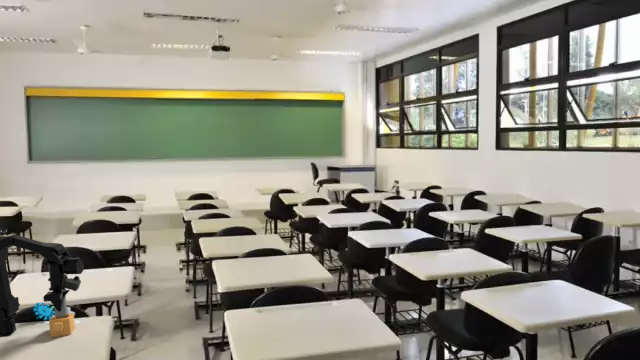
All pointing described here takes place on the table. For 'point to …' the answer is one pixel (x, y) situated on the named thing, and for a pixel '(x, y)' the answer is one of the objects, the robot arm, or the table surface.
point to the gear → (43, 311)
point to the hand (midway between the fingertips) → (60, 310)
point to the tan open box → (62, 324)
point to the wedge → (63, 309)
